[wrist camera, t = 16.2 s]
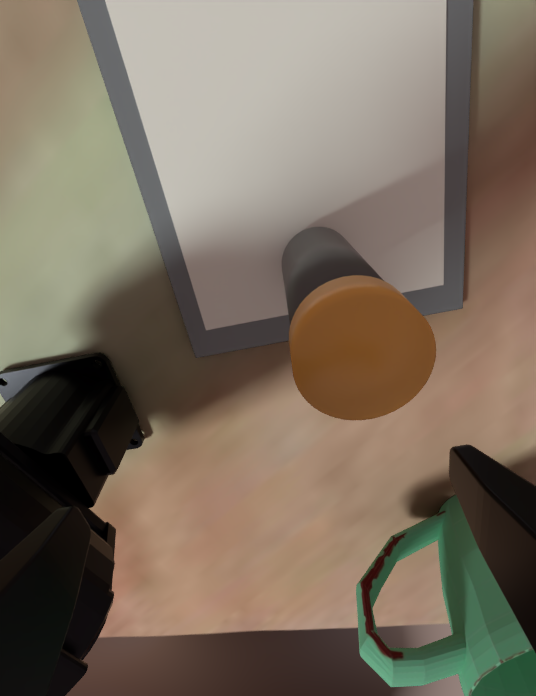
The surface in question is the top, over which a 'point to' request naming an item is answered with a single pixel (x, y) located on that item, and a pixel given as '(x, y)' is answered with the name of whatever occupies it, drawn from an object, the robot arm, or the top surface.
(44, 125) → the top surface
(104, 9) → the whiteboard
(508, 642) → the mug
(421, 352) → the marker
